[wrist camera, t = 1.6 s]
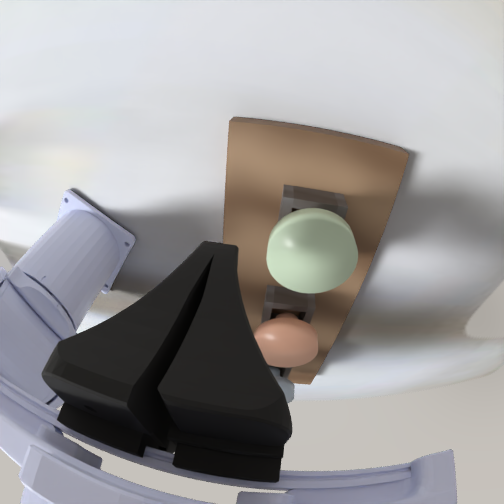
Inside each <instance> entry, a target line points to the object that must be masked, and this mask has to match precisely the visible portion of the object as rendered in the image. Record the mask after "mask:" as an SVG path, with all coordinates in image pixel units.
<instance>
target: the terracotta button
mask: <svg viewBox="0 0 504 504" xmlns="http://www.w3.org/2000/svg"><path fill="white" fill-rule="evenodd" d="M254 337H255V339H256V341H257V343H258V346H259V348H260V350H261V352H262V354H263V357H264V359H265V361H266V363H267V364H268V365H271V366H275V367H296V366H301V365H304V364H306V363H308V362H310V361H311V360H313V359H314V358H315V357H316V355H317V353H318V335H317V332H316V330H315V329H314V327H313V326H311V325H310V324H308V323H307V322H305V321H302V320H299V319H298V318H297V316H296V315H294V314H292V313H287V312H285V313H280V314H278V315H277V316H276V318H275V319H271V320H268V321H266V322H264V323H262V324H260V325H259V326H258V327H257V328H256V330H255V332H254Z"/></svg>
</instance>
